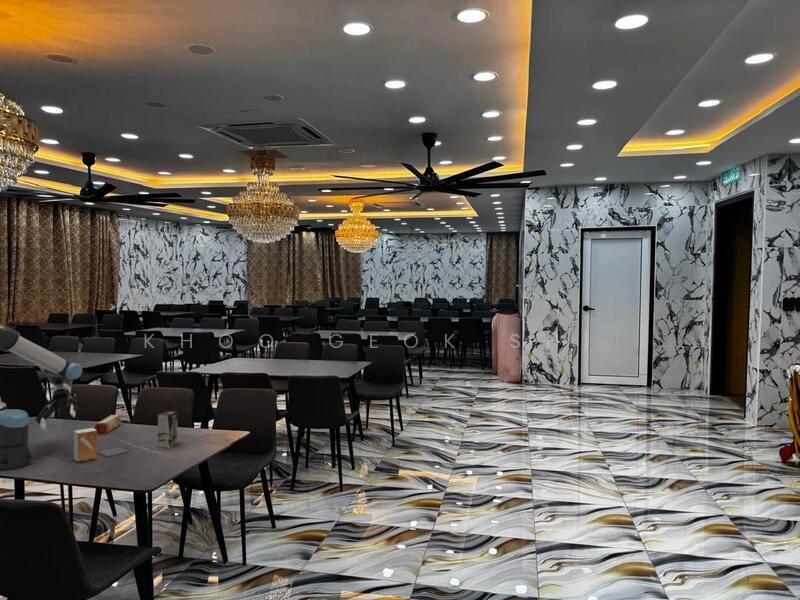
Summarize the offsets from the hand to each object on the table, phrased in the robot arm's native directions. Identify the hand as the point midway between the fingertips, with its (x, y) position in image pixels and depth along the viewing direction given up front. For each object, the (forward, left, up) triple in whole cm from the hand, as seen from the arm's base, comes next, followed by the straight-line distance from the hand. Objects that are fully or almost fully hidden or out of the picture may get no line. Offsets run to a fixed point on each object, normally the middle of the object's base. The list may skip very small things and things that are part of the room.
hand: (57, 421), depth 256 cm
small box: (+8, -10, -17) cm, 21 cm away
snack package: (+39, +35, -17) cm, 55 cm away
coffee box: (+44, -17, -17) cm, 50 cm away
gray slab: (+20, -10, -17) cm, 28 cm away
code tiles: (+8, -10, -17) cm, 21 cm away
